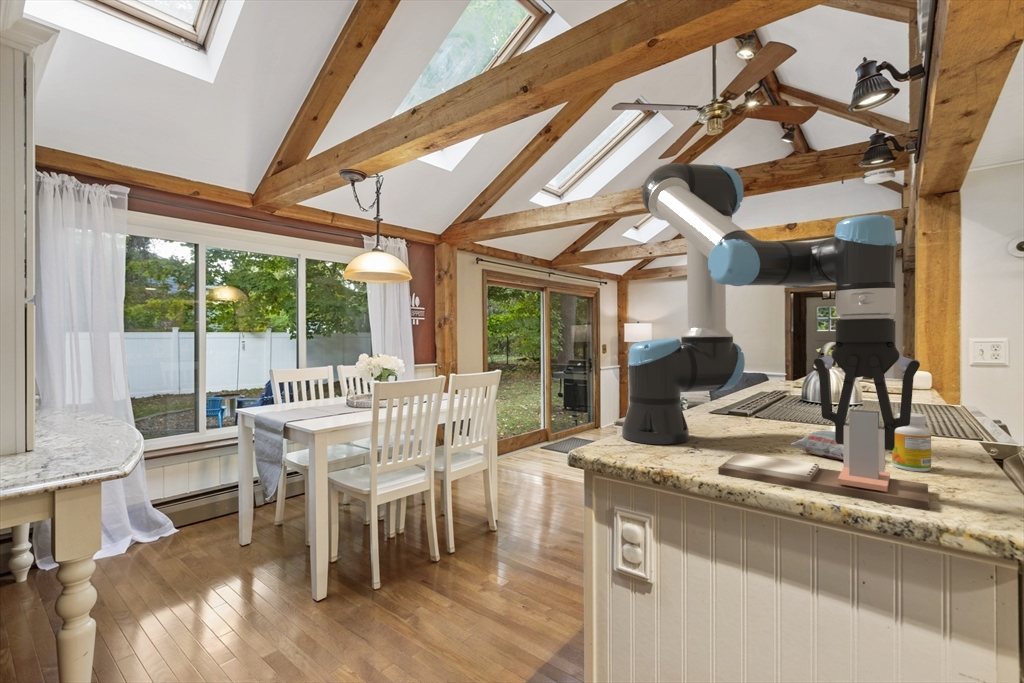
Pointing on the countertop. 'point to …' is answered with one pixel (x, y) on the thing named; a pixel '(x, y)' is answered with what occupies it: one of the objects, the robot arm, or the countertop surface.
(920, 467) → the supplement bottle
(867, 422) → the grey upright slab piece
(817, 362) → the robot arm
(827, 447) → the packaged food
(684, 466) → the countertop surface
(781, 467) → the board
